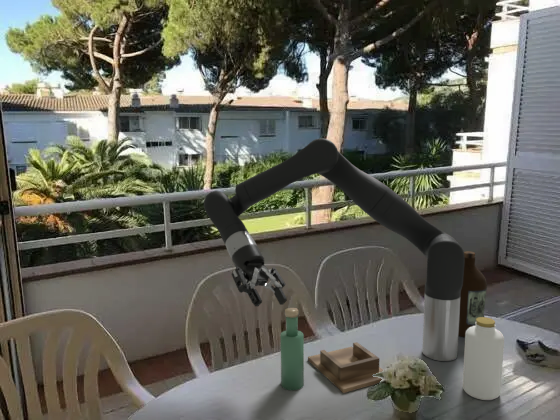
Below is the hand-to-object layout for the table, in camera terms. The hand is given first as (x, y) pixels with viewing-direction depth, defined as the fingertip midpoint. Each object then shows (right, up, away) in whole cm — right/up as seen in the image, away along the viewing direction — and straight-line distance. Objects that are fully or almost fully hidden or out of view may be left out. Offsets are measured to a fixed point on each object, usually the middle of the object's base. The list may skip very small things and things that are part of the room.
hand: (271, 303), depth 114 cm
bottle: (+5, -20, +2) cm, 21 cm away
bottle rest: (+20, -19, +9) cm, 29 cm away
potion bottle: (+50, -21, -3) cm, 54 cm away
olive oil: (+59, -15, +31) cm, 68 cm away
